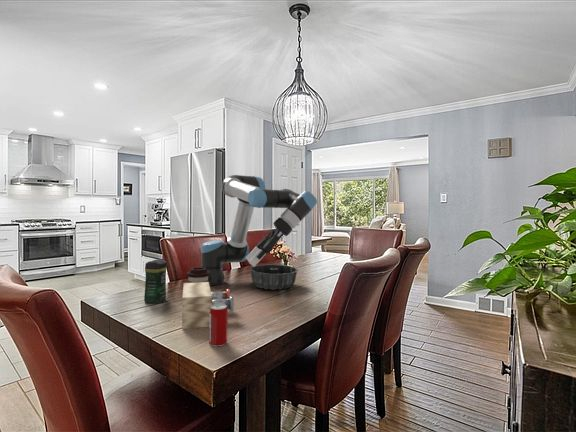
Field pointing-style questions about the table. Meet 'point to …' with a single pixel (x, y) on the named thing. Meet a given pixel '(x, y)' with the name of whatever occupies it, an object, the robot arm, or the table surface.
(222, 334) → the soda can
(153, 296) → the coffee jar
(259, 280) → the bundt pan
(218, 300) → the steel plug
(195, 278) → the coffee cup
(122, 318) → the table surface
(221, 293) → the red plug
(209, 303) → the block
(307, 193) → the robot arm
